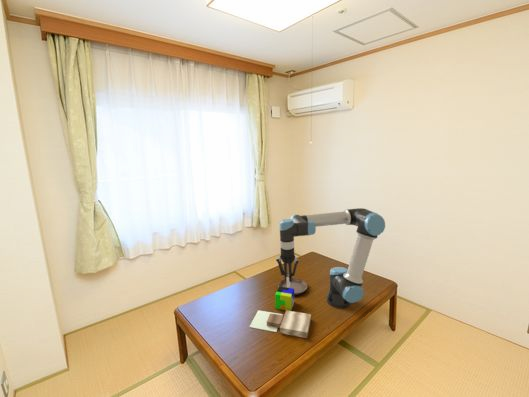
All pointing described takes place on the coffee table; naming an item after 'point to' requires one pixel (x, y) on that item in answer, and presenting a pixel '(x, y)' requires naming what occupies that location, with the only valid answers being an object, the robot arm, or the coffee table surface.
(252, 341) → the coffee table surface
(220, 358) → the coffee table surface
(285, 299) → the puzzle toy
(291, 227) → the robot arm
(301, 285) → the plant saucer
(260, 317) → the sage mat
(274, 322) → the walnut tile
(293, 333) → the plate
